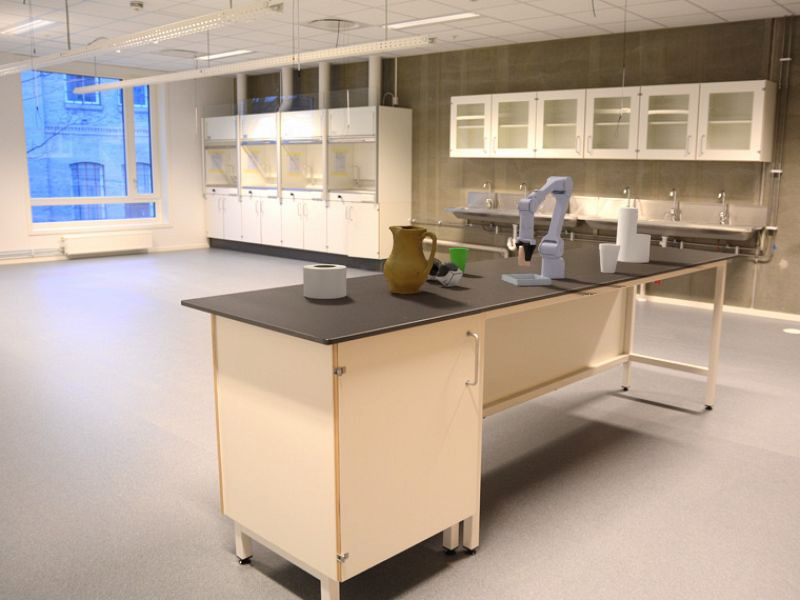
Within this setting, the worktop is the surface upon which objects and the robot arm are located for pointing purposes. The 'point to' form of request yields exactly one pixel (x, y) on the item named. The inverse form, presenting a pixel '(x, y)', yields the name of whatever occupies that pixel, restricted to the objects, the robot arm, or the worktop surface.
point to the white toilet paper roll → (324, 281)
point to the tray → (526, 279)
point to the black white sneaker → (445, 273)
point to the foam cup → (608, 257)
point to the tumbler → (522, 258)
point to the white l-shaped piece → (631, 237)
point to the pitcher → (408, 259)
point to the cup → (459, 257)
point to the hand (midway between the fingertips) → (524, 260)
